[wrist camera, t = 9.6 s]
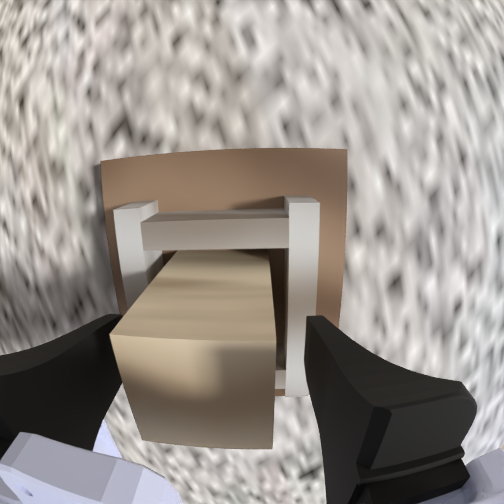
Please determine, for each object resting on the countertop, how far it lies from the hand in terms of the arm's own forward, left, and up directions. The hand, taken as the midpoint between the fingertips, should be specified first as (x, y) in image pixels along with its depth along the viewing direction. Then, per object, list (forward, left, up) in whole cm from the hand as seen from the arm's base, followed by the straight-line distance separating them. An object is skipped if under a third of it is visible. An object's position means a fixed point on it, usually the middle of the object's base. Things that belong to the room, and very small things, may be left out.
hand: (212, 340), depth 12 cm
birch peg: (0, 0, -4) cm, 4 cm away
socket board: (0, 0, -5) cm, 5 cm away
